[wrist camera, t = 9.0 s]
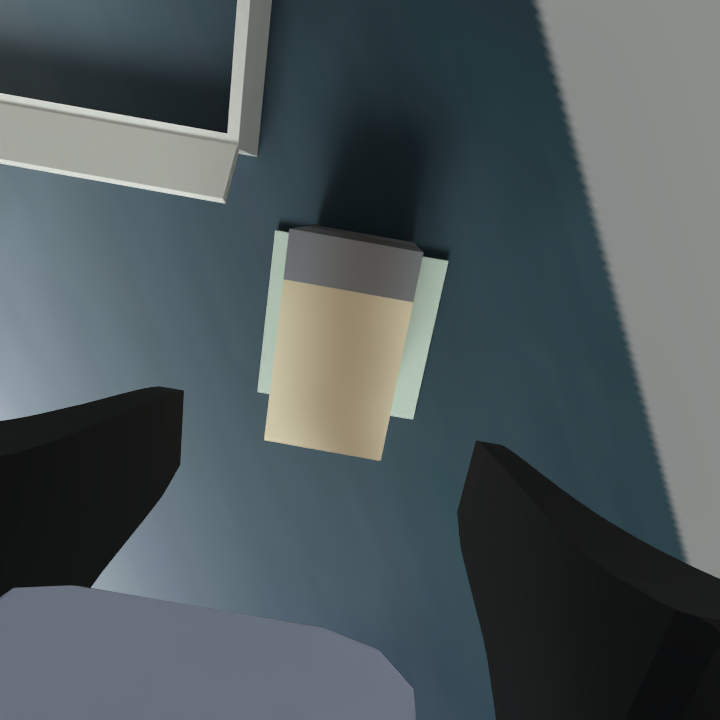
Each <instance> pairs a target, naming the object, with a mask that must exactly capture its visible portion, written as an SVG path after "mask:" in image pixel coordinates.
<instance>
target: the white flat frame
mask: <svg viewBox="0 0 720 720" xmlns="http://www.w3.org/2000/svg"><path fill="white" fill-rule="evenodd" d="M271 6H272V0H237V12H236V25H235V38H234V51H233V65H232V78H231V91H230V104H229V118H228V131H227V133H221V132H216V131H210V130H205V129H199V128H193V127H188V126H182V125H176V124H171V123H165V122H160V121H154V120H148V119H143V118H137V117H132V116H126V115H120V114H115V113H109V112H104V111H98V110H92V109H87V108H81V107H76V106H70V105H64V104H59V103H53V102H48V101H42V100H36V99H31V98H25V97H19V96H14V95H8V94H3V93H0V163H1V164H6V165H12V166H18V167H23V168H29V169H34V170H40V171H46V172H51V173H57V174H62V175H68V176H74V177H79V178H85V179H91V180H96V181H102V182H107V183H113V184H119V185H124V186H130V187H135V188H141V189H147V190H152V191H158V192H163V193H169V194H175V195H180V196H186V197H191V198H197V199H203V200H208V201H214V202H220V203H226V199H227V195H228V191H229V187H230V184H231V180H232V176H233V172H234V168H235V164H236V161H237V157H238V154H244V155H249V156H255V157H257V154H258V144H259V133H260V123H261V112H262V101H263V91H264V80H265V70H266V59H267V49H268V38H269V27H270V17H271Z"/></svg>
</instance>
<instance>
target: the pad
mask: <svg viewBox="0 0 720 720" xmlns="http://www.w3.org/2000/svg"><path fill="white" fill-rule="evenodd" d="M288 236H289V232H285V231H280V230H275V237H274V246H273V255H272V264H271V273H270V283H269V292H268V301H267V310H266V319H265V328H264V337H263V346H262V355H261V364H260V373H259V382H258V391H257V392H261V393H267V394H270V387H271V379H272V371H273V362H274V354H275V345H276V337H277V329H278V320H279V312H280V303H281V295H282V287H283V278H284V270H285V261H286V253H287V245H288ZM447 265H448V261H447V260H442V259H437V258H431V257H426V256H423V258H422V263H421V268H420V272H419V277H418V282H417V287H416V292H415V297H414V301H413V306H412V311H411V316H410V321H409V326H408V330H407V335H406V340H405V345H404V350H403V355H402V360H401V364H400V369H399V374H398V379H397V384H396V389H395V393H394V398H393V403H392V408H391V413H390V416H396V417H401V418H407V419H413V417H414V413H415V408H416V404H417V399H418V395H419V390H420V386H421V381H422V377H423V372H424V368H425V364H426V359H427V355H428V350H429V346H430V341H431V337H432V332H433V328H434V323H435V319H436V314H437V310H438V305H439V301H440V297H441V292H442V288H443V283H444V279H445V274H446V270H447Z"/></svg>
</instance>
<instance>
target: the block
mask: <svg viewBox="0 0 720 720" xmlns="http://www.w3.org/2000/svg"><path fill="white" fill-rule="evenodd" d="M423 253H424V252H423V251H422V250H421V249H420V248H419V247H418V246H417V245H416V244H415V243H414V242H409V241H403V240H398V239H392V238H386V237H381V236H375V235H370V234H364V233H358V232H353V231H347V230H341V229H336V228H330V227H325V226H319V225H309V226H303V227H296V228H290V229H289V236H288V245H287V253H286V261H285V270H284V278H283V287H282V295H281V303H280V312H279V320H278V329H277V337H276V345H275V354H274V362H273V371H272V379H271V387H270V396H269V404H268V413H267V421H266V429H265V438H264V440H266V441H272V442H277V443H283V444H289V445H294V446H300V447H305V448H311V449H317V450H322V451H328V452H334V453H339V454H345V455H350V456H356V457H362V458H367V459H373V460H379V461H381V456H382V451H383V447H384V442H385V437H386V432H387V427H388V422H389V418H390V413H391V408H392V403H393V398H394V393H395V389H396V384H397V379H398V374H399V369H400V364H401V360H402V355H403V350H404V345H405V340H406V335H407V330H408V326H409V321H410V316H411V311H412V306H413V301H414V297H415V292H416V287H417V282H418V277H419V272H420V268H421V263H422V258H423Z"/></svg>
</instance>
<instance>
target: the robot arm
mask: <svg viewBox="0 0 720 720" xmlns="http://www.w3.org/2000/svg"><path fill="white" fill-rule="evenodd" d="M183 397H184V391H183V390H177V389H171V388H165V387H150V388H144V389H140V390H135V391H131V392H127V393H123V394H119V395H116V396H112V397H108V398H104V399H100V400H96V401H93V402H89V403H85V404H81V405H77V406H72V407H68V408H64V409H59V410H55V411H51V412H46V413H42V414H38V415H33V416H28V417H22V418H17V419H11V420H5V421H0V720H416V713H415V702H414V691H413V688H412V687H411V686H410V685H409V684H408V683H407V682H406V680H405V679H404V678H403V677H402V676H401V675H400V674H399V672H398V671H397V670H396V669H395V668H394V667H393V666H392V665H391V663H390V662H389V661H388V660H387V659H386V658H385V657H384V655H383V654H382V653H381V652H380V651H379V650H377V649H375V648H373V647H370V646H368V645H365V644H363V643H360V642H358V641H355V640H353V639H350V638H348V637H345V636H342V635H340V634H337V633H335V632H332V631H330V630H327V629H325V628H320V627H314V626H308V625H302V624H297V623H291V622H285V621H279V620H273V619H268V618H262V617H256V616H250V615H244V614H239V613H233V612H227V611H221V610H215V609H209V608H204V607H198V606H192V605H186V604H180V603H175V602H169V601H163V600H157V599H151V598H146V597H140V596H134V595H128V594H122V593H117V592H111V591H105V590H99V589H93V588H91V586H92V585H93V584H94V582H95V581H96V579H97V578H98V577H99V575H100V574H101V573H102V571H103V570H104V569H105V567H106V566H107V565H108V564H109V562H110V561H111V560H112V559H113V558H114V556H115V555H116V554H117V553H118V551H119V550H120V549H121V548H122V546H123V545H124V544H125V543H126V541H127V540H128V539H129V538H130V536H131V535H132V534H133V533H134V531H135V530H136V529H137V528H138V526H139V525H140V524H141V523H142V521H143V520H144V519H145V518H146V516H147V515H148V514H149V512H150V511H151V510H152V509H153V507H154V506H155V505H156V503H157V502H158V501H159V500H160V498H161V497H162V495H163V494H164V492H165V490H166V489H167V487H168V485H169V484H170V482H171V480H172V478H173V476H174V475H175V473H176V471H177V469H178V467H179V466H180V457H181V437H182V417H183ZM457 514H458V526H459V536H460V544H461V551H462V555H463V559H464V563H465V567H466V572H467V576H468V580H469V584H470V587H471V591H472V595H473V599H474V603H475V607H476V611H477V615H478V619H479V623H480V627H481V631H482V635H483V639H484V644H485V649H486V654H487V659H488V666H489V673H490V680H491V687H492V694H493V700H494V708H495V716H496V720H720V579H719V578H716V577H714V576H712V575H710V574H708V573H705V572H703V571H701V570H699V569H696V568H694V567H692V566H690V565H688V564H686V563H684V562H682V561H680V560H678V559H676V558H674V557H672V556H670V555H668V554H666V553H664V552H662V551H660V550H658V549H656V548H654V547H652V546H650V545H649V544H647V543H645V542H643V541H641V540H639V539H638V538H636V537H634V536H633V535H631V534H629V533H627V532H626V531H624V530H622V529H621V528H619V527H617V526H616V525H614V524H612V523H610V522H609V521H607V520H606V519H604V518H602V517H601V516H599V515H598V514H596V513H595V512H593V511H592V510H590V509H589V508H587V507H586V506H585V505H583V504H582V503H580V502H579V501H577V500H576V499H574V498H573V497H572V496H570V495H569V494H567V493H566V492H565V491H563V490H562V489H561V488H559V487H558V486H557V485H555V484H554V483H553V482H551V481H550V480H549V479H547V478H546V477H545V476H543V475H542V474H541V473H540V472H538V471H537V470H536V469H534V468H533V467H532V466H531V465H529V464H528V463H527V462H525V461H524V460H523V459H522V458H520V457H519V456H518V455H516V454H515V453H513V452H512V451H511V450H509V449H507V448H506V447H504V446H502V445H499V444H493V443H487V442H481V441H476V443H475V447H474V451H473V454H472V458H471V462H470V466H469V470H468V473H467V477H466V481H465V485H464V489H463V492H462V496H461V500H460V504H459V507H458V511H457Z"/></svg>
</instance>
